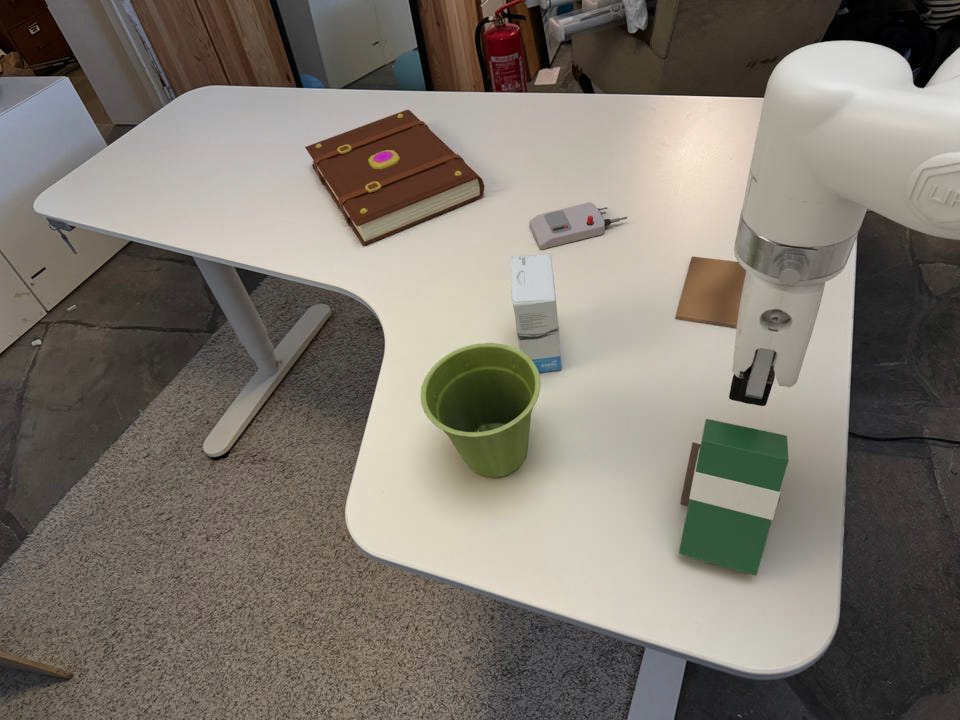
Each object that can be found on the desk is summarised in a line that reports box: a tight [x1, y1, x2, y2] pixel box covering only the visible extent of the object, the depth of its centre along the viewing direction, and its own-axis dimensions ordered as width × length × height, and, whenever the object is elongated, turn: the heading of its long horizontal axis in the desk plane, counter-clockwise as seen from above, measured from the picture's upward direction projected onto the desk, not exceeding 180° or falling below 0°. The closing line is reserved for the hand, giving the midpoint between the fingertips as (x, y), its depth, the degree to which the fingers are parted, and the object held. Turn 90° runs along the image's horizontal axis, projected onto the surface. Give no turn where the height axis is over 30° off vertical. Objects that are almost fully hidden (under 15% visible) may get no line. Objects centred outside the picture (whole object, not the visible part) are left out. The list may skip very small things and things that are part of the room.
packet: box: [678, 418, 789, 577], centre depth 52 cm, size 9×7×12 cm
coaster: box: [675, 256, 746, 329], centre depth 77 cm, size 12×12×1 cm
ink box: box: [510, 252, 562, 374], centre depth 72 cm, size 8×5×12 cm, turn 179°
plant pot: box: [420, 342, 542, 479], centre depth 63 cm, size 12×12×11 cm
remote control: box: [528, 202, 628, 251], centre depth 91 cm, size 7×16×3 cm, turn 101°
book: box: [304, 109, 485, 247], centre depth 108 cm, size 23×32×5 cm
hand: (747, 396), depth 56 cm, fingers closed
